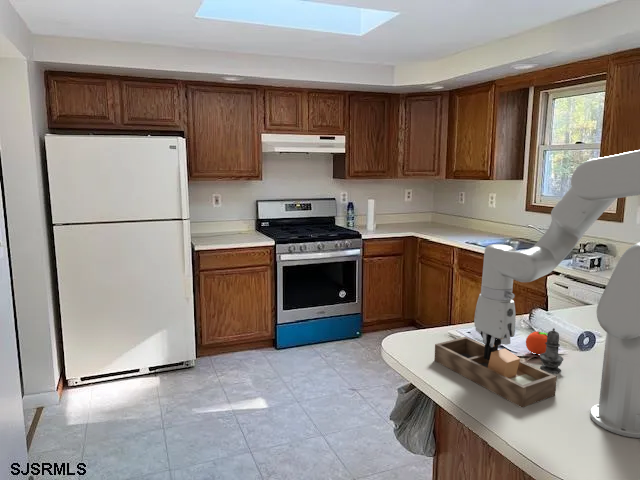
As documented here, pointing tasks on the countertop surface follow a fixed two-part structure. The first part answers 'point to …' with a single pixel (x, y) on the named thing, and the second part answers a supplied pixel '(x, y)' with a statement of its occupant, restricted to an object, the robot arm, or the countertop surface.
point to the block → (504, 362)
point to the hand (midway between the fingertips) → (490, 358)
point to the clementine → (537, 342)
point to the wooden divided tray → (472, 365)
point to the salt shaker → (551, 354)
